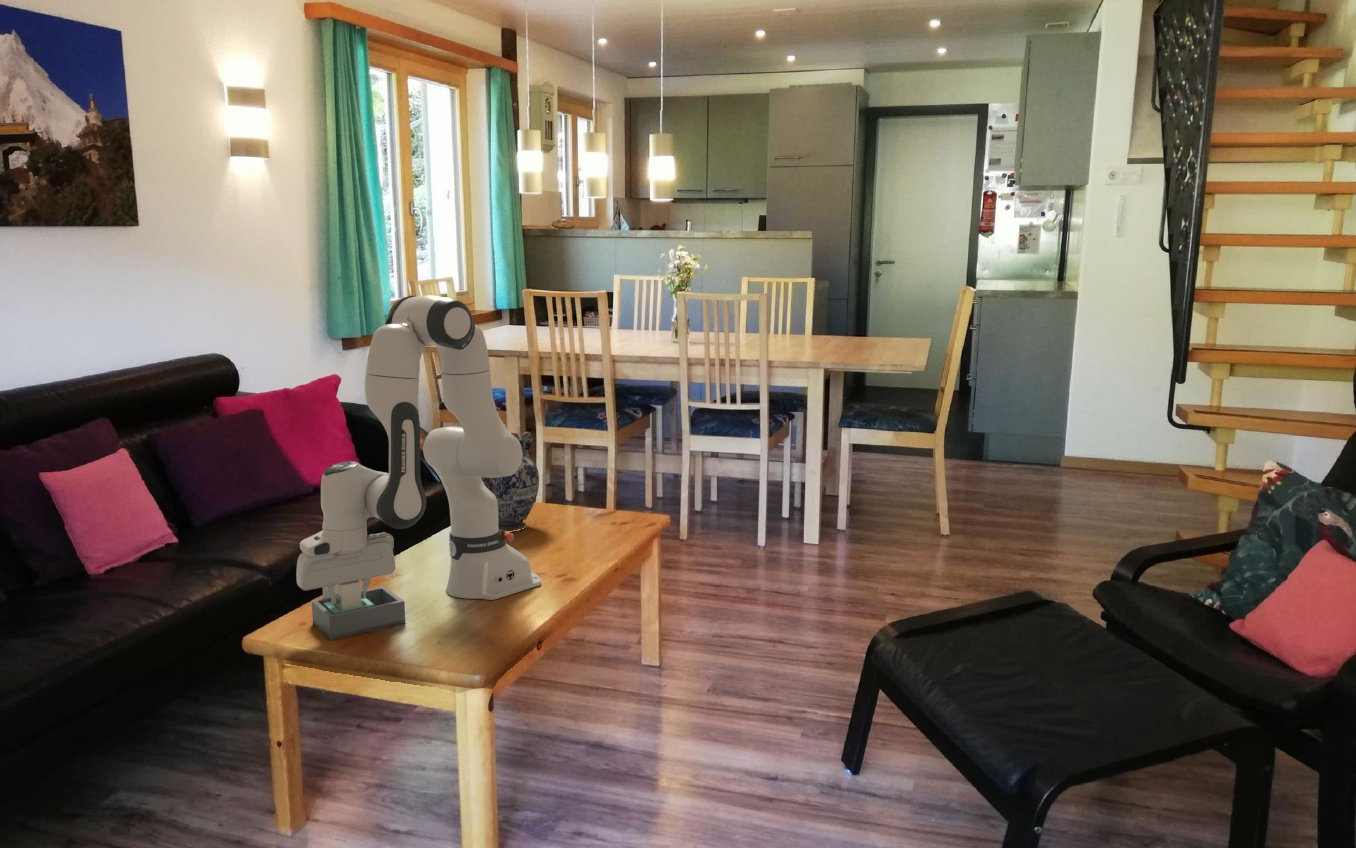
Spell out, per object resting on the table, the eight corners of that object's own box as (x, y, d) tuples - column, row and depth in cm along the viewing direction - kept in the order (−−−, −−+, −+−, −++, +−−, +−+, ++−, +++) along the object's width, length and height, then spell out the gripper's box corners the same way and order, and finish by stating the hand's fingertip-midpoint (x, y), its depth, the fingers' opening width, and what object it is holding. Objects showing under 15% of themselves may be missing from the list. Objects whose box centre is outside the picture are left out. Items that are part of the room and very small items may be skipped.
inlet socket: (363, 612, 211) (362, 595, 210) (375, 622, 205) (374, 604, 204) (324, 620, 206) (323, 603, 205) (335, 631, 200) (334, 613, 199)
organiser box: (385, 607, 216) (384, 586, 216) (405, 623, 207) (404, 601, 206) (312, 623, 207) (311, 600, 206) (330, 640, 197) (329, 617, 197)
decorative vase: (506, 541, 268) (503, 442, 263) (459, 532, 278) (455, 437, 273) (556, 524, 285) (554, 432, 281) (510, 516, 295) (507, 427, 291)
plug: (355, 612, 208) (353, 572, 207) (362, 617, 205) (360, 577, 204) (337, 616, 206) (335, 576, 204) (343, 622, 203) (341, 581, 201)
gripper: (387, 527, 211) (390, 587, 213) (291, 543, 199) (296, 606, 201) (398, 533, 206) (401, 595, 209) (300, 550, 194) (304, 615, 196)
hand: (348, 601), depth 205 cm, fingers closed on plug, 4 cm apart
